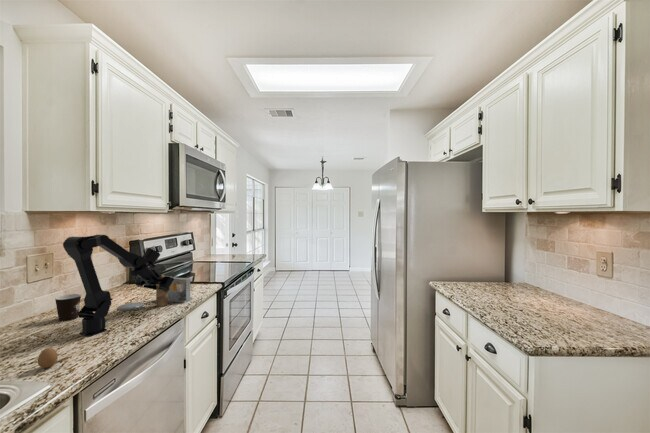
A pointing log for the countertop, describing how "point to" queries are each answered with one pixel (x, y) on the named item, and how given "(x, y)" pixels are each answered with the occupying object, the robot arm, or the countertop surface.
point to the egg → (47, 358)
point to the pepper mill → (161, 296)
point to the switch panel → (179, 290)
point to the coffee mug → (68, 306)
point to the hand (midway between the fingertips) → (164, 290)
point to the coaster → (130, 306)
